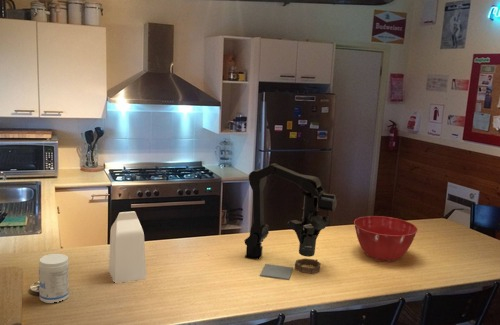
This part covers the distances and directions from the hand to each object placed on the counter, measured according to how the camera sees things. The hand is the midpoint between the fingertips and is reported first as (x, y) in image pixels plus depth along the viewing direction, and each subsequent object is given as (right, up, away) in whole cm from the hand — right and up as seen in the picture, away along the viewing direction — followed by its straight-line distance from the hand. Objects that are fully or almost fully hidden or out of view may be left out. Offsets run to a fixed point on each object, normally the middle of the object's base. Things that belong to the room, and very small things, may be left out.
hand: (307, 242), depth 202 cm
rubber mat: (-13, -12, -3) cm, 18 cm away
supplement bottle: (0, -5, +1) cm, 5 cm away
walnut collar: (0, -12, +2) cm, 12 cm away
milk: (-73, -11, -13) cm, 75 cm away
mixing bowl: (+37, -10, +22) cm, 44 cm away
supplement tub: (-93, -14, -34) cm, 100 cm away
